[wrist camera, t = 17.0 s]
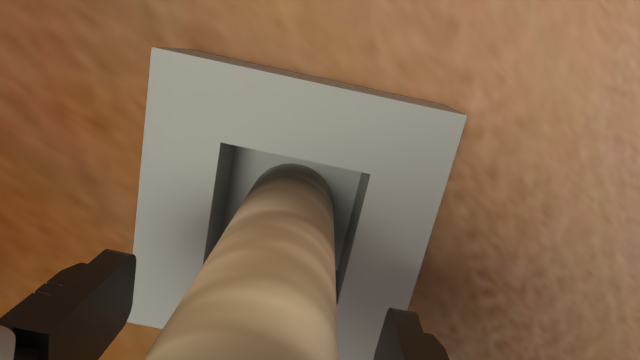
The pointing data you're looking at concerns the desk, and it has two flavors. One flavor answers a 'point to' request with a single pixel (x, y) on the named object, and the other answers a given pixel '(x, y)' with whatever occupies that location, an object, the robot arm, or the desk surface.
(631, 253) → the desk surface
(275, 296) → the round beige peg
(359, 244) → the tool rest
